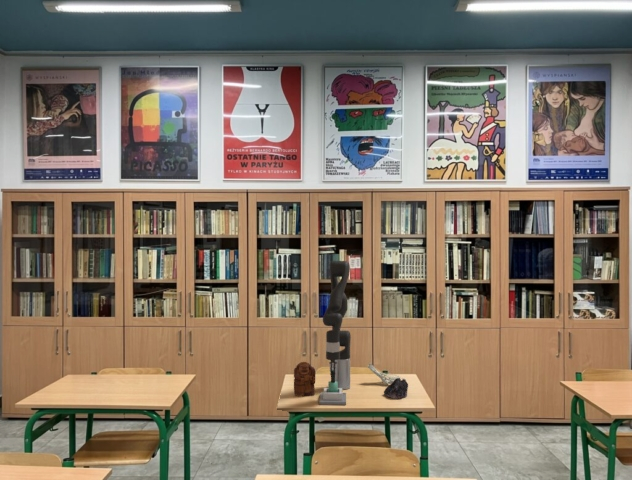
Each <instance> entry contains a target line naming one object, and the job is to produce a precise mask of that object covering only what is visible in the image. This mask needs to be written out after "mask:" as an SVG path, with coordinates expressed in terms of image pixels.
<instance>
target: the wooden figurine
mask: <svg viewBox="0 0 632 480" xmlns="http://www.w3.org/2000/svg"><path fill="white" fill-rule="evenodd" d="M315 369H316V368H314V366H312V365H311V364H310V363H309V362H306V361H301V362H299V363H298V364H297V365H296V366H295V368H293V391H294V393H293V394H294V395H295V396H298V397H310V396H314V395H315V384H316V370H315Z"/></svg>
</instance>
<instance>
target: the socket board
mask: <svg viewBox="0 0 632 480" xmlns="http://www.w3.org/2000/svg"><path fill="white" fill-rule="evenodd" d="M318 401H319V403H318V405H319V406H346V405H347V393H346V392H343V389H342V388H338V393H330V392H328V387H323V392H322V391H321V392H320V395H319V399H318Z"/></svg>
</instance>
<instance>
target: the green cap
mask: <svg viewBox="0 0 632 480" xmlns="http://www.w3.org/2000/svg"><path fill="white" fill-rule="evenodd" d="M327 388H328V392H330V393H338V382H337V381H335V383H331V380H330V381H328V386H327Z"/></svg>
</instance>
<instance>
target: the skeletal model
mask: <svg viewBox="0 0 632 480" xmlns="http://www.w3.org/2000/svg"><path fill="white" fill-rule="evenodd" d="M367 369H369V371H371V372H372V373H373V374H374V375H376V376H377V377H378V378H379V379H380V380H381V381H382V383H383V384H385V385H391V384H392V383H393V381H394V380H395V379H397V378H400V379H401V380H403V379H404V380H406V379H405V378H403V377H401V376H399V375H397V374H393V373H389V374H386V373H384V372H381V371H378V370H377V368H376V367H375V365H374V364H372V362H369V364H368V365H367Z"/></svg>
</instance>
